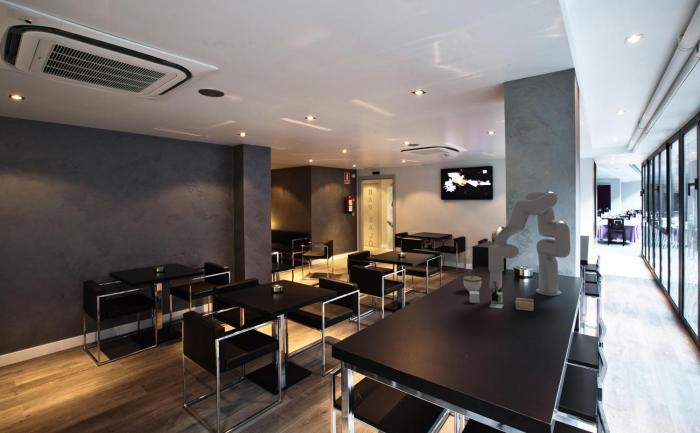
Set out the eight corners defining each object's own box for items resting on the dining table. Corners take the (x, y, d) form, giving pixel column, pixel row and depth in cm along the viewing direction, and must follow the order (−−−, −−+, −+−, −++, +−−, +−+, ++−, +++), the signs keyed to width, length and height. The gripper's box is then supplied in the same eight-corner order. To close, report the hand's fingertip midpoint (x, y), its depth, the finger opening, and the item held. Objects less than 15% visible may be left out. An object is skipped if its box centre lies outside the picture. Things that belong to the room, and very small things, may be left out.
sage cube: (493, 300, 186) (492, 291, 186) (502, 301, 183) (502, 292, 183) (491, 302, 182) (491, 293, 182) (501, 303, 179) (501, 294, 179)
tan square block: (516, 304, 177) (516, 297, 177) (533, 306, 173) (533, 299, 173) (515, 309, 170) (515, 302, 170) (533, 311, 166) (533, 303, 166)
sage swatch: (491, 303, 180) (491, 303, 180) (503, 305, 176) (503, 304, 176) (489, 307, 175) (489, 306, 175) (501, 308, 171) (501, 308, 171)
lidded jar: (459, 289, 209) (459, 275, 208) (472, 287, 213) (472, 272, 213) (472, 293, 199) (472, 278, 199) (485, 290, 204) (485, 275, 203)
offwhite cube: (469, 299, 189) (469, 291, 188) (479, 300, 187) (478, 291, 187) (469, 302, 184) (469, 293, 184) (479, 303, 182) (479, 294, 182)
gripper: (491, 264, 191) (492, 293, 192) (485, 270, 177) (486, 302, 177) (506, 265, 187) (506, 295, 188) (500, 271, 172) (501, 304, 173)
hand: (496, 298), depth 183 cm, fingers open, 9 cm apart
